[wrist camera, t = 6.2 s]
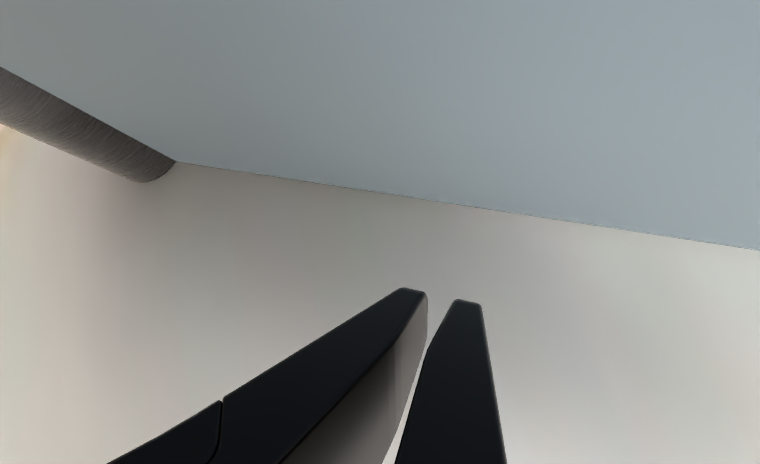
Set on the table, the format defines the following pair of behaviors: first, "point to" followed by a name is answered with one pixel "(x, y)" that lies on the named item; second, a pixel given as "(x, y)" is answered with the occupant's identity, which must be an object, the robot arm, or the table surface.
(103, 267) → the table surface
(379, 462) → the robot arm
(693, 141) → the panel
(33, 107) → the posts
